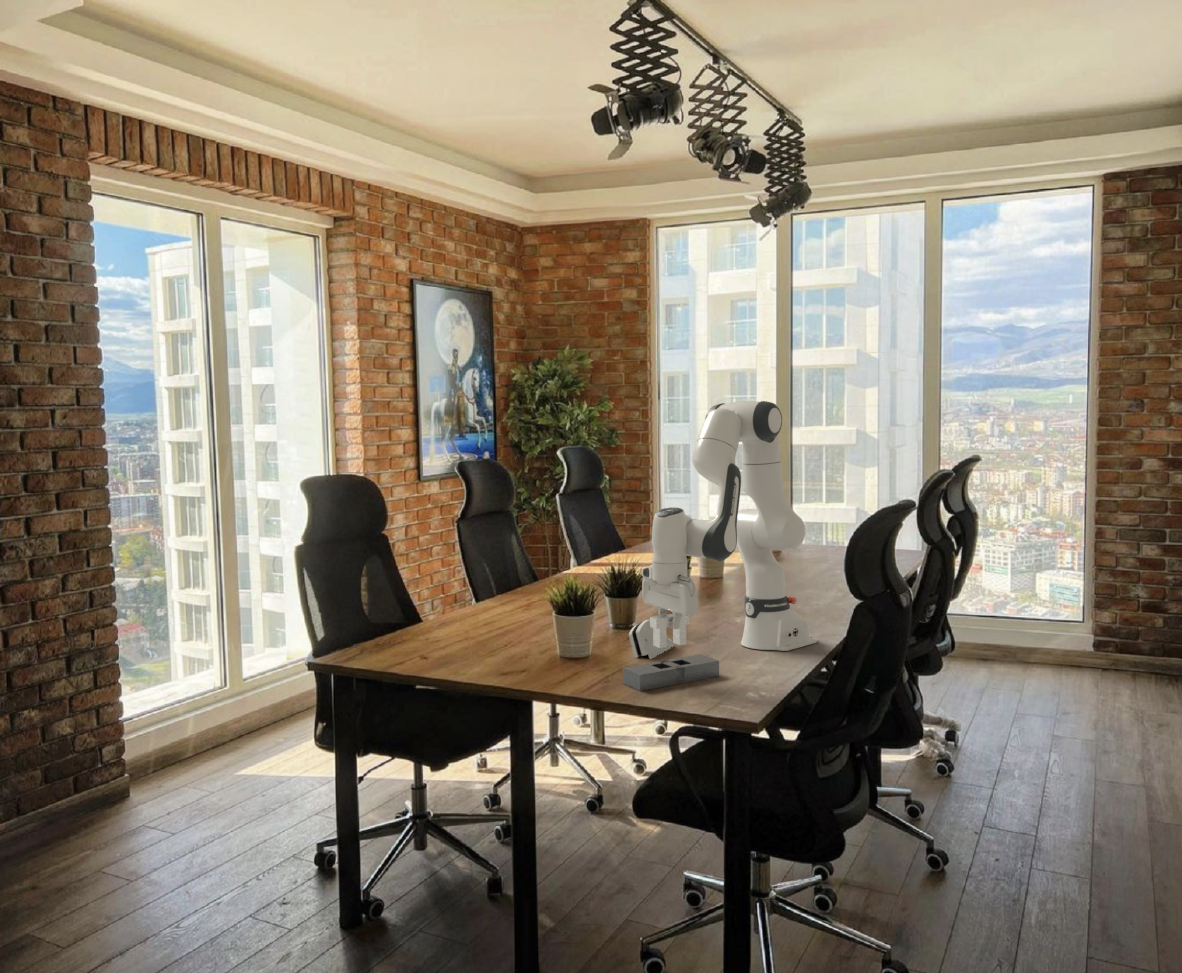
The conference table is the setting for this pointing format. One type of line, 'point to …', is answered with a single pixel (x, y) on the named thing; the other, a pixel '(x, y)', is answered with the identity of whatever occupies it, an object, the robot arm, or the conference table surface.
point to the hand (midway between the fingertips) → (670, 627)
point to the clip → (661, 633)
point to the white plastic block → (645, 641)
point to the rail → (670, 672)
